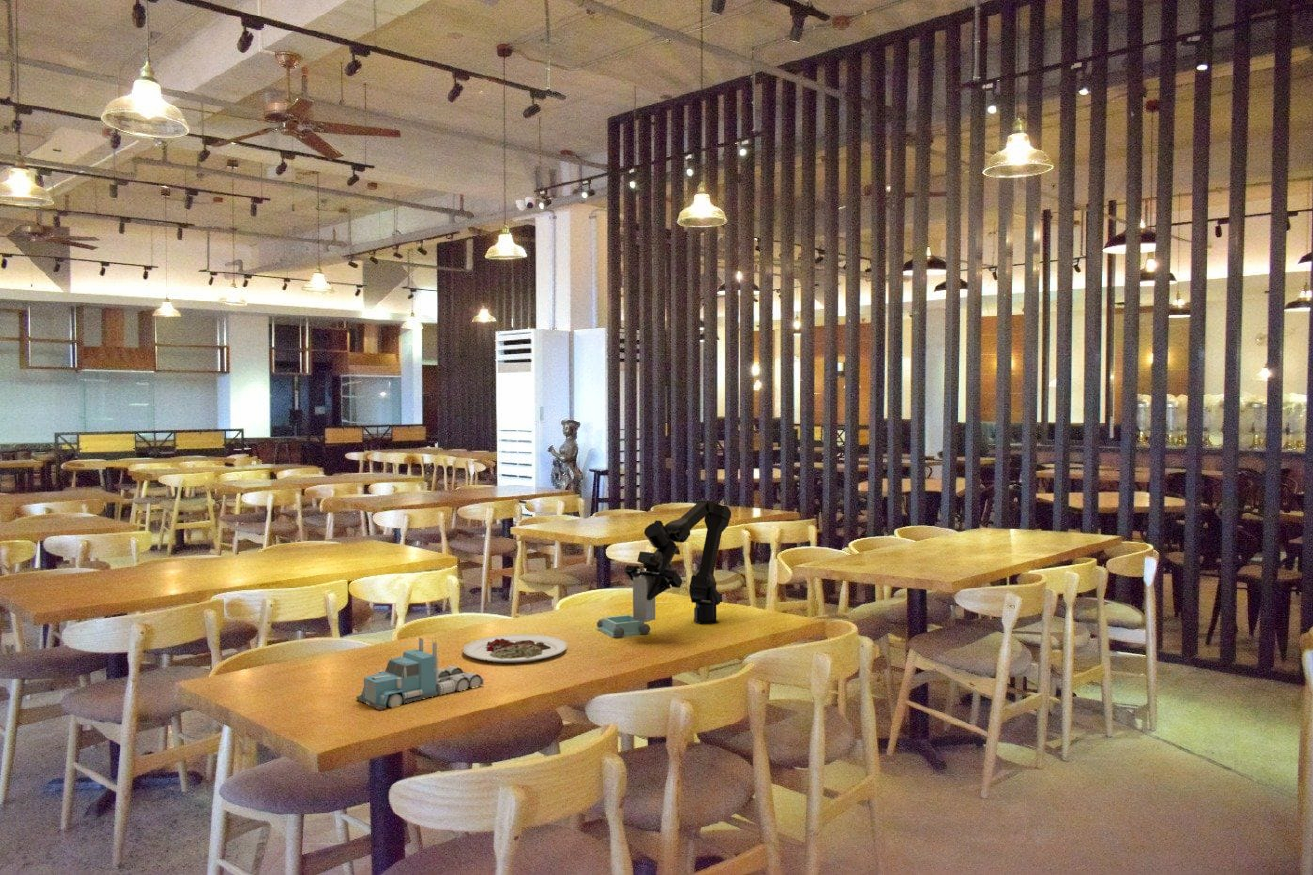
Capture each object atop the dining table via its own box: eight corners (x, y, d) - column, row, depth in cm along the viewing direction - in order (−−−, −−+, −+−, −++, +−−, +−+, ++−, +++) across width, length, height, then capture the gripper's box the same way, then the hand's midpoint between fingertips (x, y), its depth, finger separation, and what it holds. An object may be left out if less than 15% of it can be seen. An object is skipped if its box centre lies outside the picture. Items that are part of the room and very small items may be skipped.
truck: (355, 701, 233) (354, 640, 232) (458, 678, 253) (457, 621, 252) (379, 713, 224) (378, 649, 224) (483, 687, 244) (483, 629, 244)
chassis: (631, 625, 312) (631, 613, 312) (650, 634, 300) (650, 621, 300) (596, 629, 306) (596, 617, 306) (614, 638, 294) (614, 625, 294)
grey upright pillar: (642, 617, 293) (641, 575, 293) (655, 619, 290) (655, 576, 290) (633, 620, 289) (632, 577, 289) (646, 622, 286) (646, 578, 286)
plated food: (548, 669, 261) (548, 657, 261) (445, 663, 267) (445, 651, 267) (579, 643, 290) (579, 631, 290) (486, 638, 296) (485, 627, 296)
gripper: (627, 538, 298) (605, 579, 289) (676, 543, 287) (654, 586, 278) (643, 560, 304) (621, 601, 296) (691, 566, 293) (670, 608, 285)
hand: (641, 598), depth 288 cm, fingers closed on grey upright pillar, 5 cm apart
